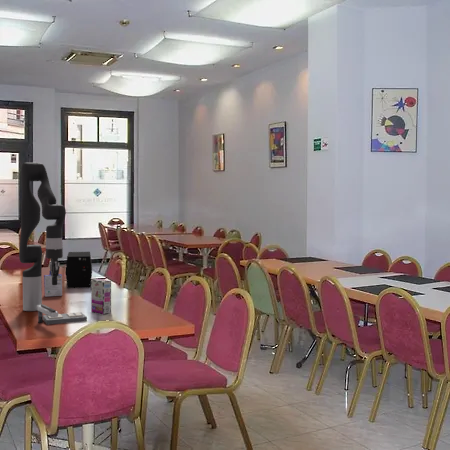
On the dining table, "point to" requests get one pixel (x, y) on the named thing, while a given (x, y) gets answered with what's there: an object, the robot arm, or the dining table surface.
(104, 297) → the candy bar box
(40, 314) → the pivot post
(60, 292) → the ink cartridge box
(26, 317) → the dining table surface
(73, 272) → the uninterruptible power supply
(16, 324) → the dining table surface
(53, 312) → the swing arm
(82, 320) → the label panel
